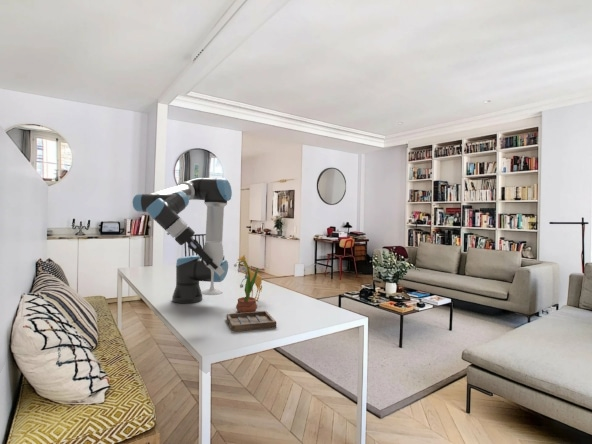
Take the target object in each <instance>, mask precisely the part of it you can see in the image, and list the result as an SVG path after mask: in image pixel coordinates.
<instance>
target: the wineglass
mask: <svg viewBox="0 0 592 444" xmlns="http://www.w3.org/2000/svg"><path fill="white" fill-rule="evenodd" d="M203 250H204V251H205V253H206V254H207V255H208V256H209V257H210V258H212V259H213V260H214V261H215V262H216V263H217V264H218V265H219V266H220V265H221V263H222V261H223V255H224V245H223V241H222V242H219V241H206V242H204V245H203ZM203 262H204V264H205V265H206V262H205V261H204V260H203ZM207 267H208V268H210V270H211V282H210V286H209V288H208V289H204V290H201V294H202V296H203V295H204V296H218V295H222V294H223V293H224V292H223V291H222V290H221V289H217V288H215V285H214V284H215V282H214V270H213V269H212V268H211V267H210V266H209V265H208V266H207Z"/></svg>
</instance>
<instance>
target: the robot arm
mask: <svg viewBox="0 0 592 444" xmlns="http://www.w3.org/2000/svg"><path fill="white" fill-rule="evenodd" d="M232 191H233V190H232V186H231V183H230V182H229V180H228V179H227V178H224V177H223V178H222V177H198V178H193V179H190V180H185V181H182V182H180V183H179V184H178V185H176V186H172V187H169V188H165V189H161V190H158V191H154V192H151V193H150V192H149V193H139V194H136V195H134V196H133V198H132V207H133V209H134V210H135V211H136V212H139V213H147V214H148V215H149V216H150V217H151V219H152V220H154V221H155V222H156V223H157V224H158V225H159V226H160V227H161V228H162V229H163V230H165V232H166V234H167V236H169V235H170V237H171V238H174V240H175V242H176V243H178V245H180V246H182V245H184V244H185V243H187V247H188V248H189V249H190V250H192V251H193V252H194V254H197V255H187V256H186V255H185V256H182V257H179V258H177V259H176V265H175V269H176V270H175V271H176V273H175V275H176V276H175V282H176V283H175V288H174V291H173V292H172V293H173V294H172V299H171V301H172V302H173V303H177V304H193V303H198V302H202V300H203V294H201V292H202V289H201V286H200V282H210V283H211V270H210V268H208V267H207V266H208V265H209V266H210V267H211V268H212V269H213V270H214V283H221V282H223V281H224V280H225V279H226V277H227V274H228V271H229V270H228V269H229V262H228V260H227V259H225V255H224V254H223V261H222V263H221V265H220V266H219V265H218V264H217V263H216V262H215V261H214V260H213V259H212V258H210V257H209V256H208V255H207V254H206V253H205V251H204V250H203V249H204V247H203V246H202V245H201V244H200V243H199V241H198V240H197V238H195V239H194V238H192V237H193V236H194V235H195V231H194V229H192V228H191V227H190V226H188V224H187V222H186V221H185V220H184V219H183V218H182V217H181V216H180V215H179V214H180V213H182V211H184V210H185V209H186V207H188V205H189V204H190V201H191V200H193V201H194V200H195V201H198V200H199V201H203V202H204V205H206V221H205V222H206V223H205V224H206V225H205V242H206V241H219V242H222V243H223V231H224V215H225V214H224V211H225V207H226V206H227V205H228V201H230V200H232V196H233V193H232ZM205 242H204V243H205ZM203 260H204V261H205V262H206V265H205V264H204V262H203Z"/></svg>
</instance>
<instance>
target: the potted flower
mask: <svg viewBox="0 0 592 444" xmlns="http://www.w3.org/2000/svg"><path fill="white" fill-rule="evenodd" d="M243 260H244V259H243ZM243 262H244V263H245V264H246V265H244V263H243ZM237 263H238V264H237ZM241 263H242V264H241ZM240 265H241V268H240ZM237 266H238V267H237ZM244 266H246V267H247V268H246V267H244ZM233 267H234V268H236V267H237V272H238V273H241V272H242V271H243V272H244V273H245V272H247V273H248V275H247V273H245V275H244V278H243V279H242V281H244V280H246V281H245V285H244V284H243V282H241V283H240V284H239V288H240V289H241V288H244V293H245V296H244V297H239V298H237V303H236V306H235V308H236V309H235V310H237V311H238V313H244V312H257V309H258V305H257V303H256V302H257V301H256V300H257V298H256V299H255V297H253V296H251V294H252V288H253V289H254V286H255V280H256V276H257V274H258V271H259V267H256V269H255V272H254V273H255V274H254V277H253V279H252V281H251V282H250V273H249V269H250V267H249V264H248V263H247V261H246V262H245V261H242V260H239V261H238V262H236V263H234V264H233ZM247 270H248V271H247ZM249 295H250V297H249Z"/></svg>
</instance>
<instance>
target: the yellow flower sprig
mask: <svg viewBox="0 0 592 444" xmlns="http://www.w3.org/2000/svg"><path fill="white" fill-rule="evenodd" d="M243 259H244V260H243ZM241 260H242V261H245V262H246V263H247V260H246V255H245V254H243V256H240V257H239V258H237V261H238V262H240V261H241ZM243 263H244V262H242V264H243ZM244 265H246V264H245V263H244V264H243V266H244ZM244 267H246V266H244ZM246 268H247V267H246ZM247 271H248V270H247ZM244 273H245V274H246V273H247V272H244ZM249 273H250V282H251V281H252V279H253V277H254V274H255V272H254V271H252V270H250V268H249ZM247 275H248V273H247ZM262 281H263V278H262V276H261V275H260V274H258V273H257V276H256V280H255V283H254V286H256V288H257V289H256V293H255V297H254V298H255V299H256V302H257V301H258V300H259V299H260V293H261V292H262V290H263V285H262ZM253 295H254V287H253V288H252V291H251V294H250V295H249V297H253Z"/></svg>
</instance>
